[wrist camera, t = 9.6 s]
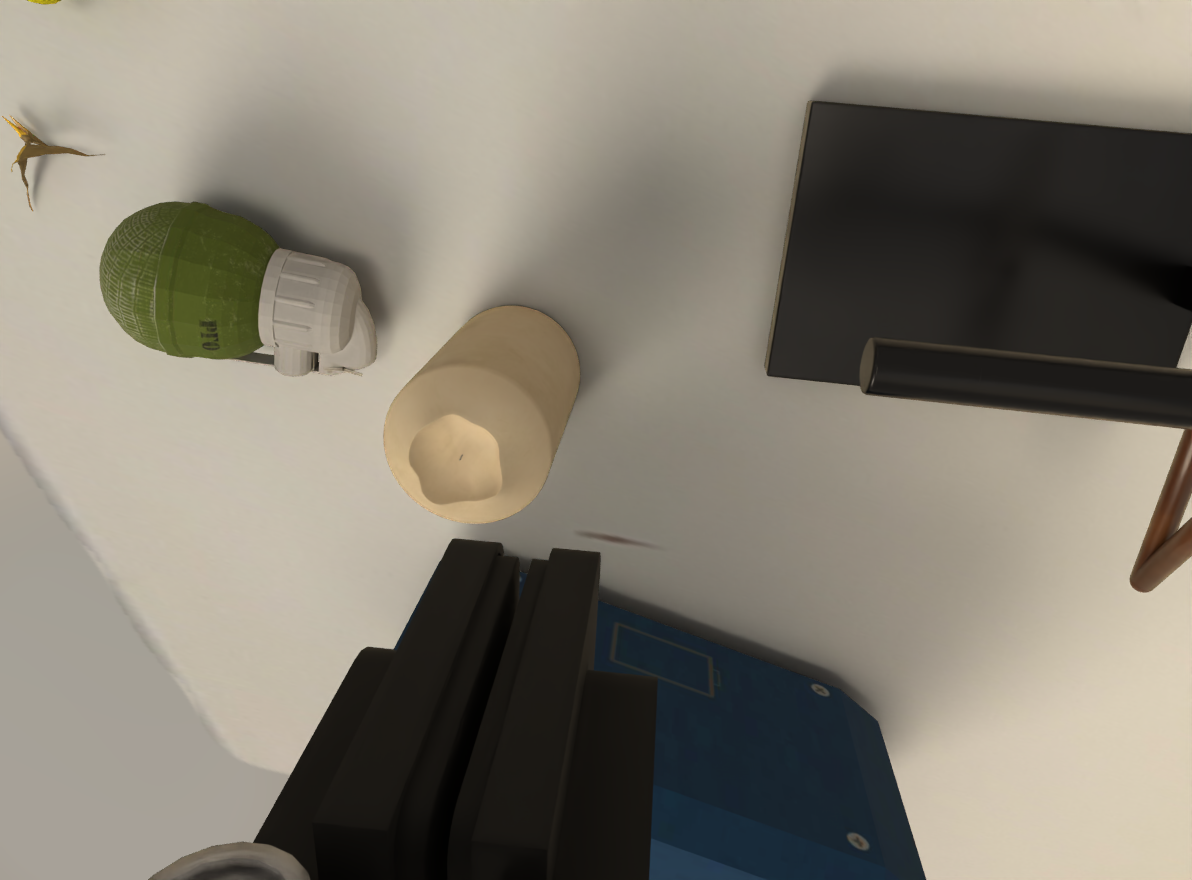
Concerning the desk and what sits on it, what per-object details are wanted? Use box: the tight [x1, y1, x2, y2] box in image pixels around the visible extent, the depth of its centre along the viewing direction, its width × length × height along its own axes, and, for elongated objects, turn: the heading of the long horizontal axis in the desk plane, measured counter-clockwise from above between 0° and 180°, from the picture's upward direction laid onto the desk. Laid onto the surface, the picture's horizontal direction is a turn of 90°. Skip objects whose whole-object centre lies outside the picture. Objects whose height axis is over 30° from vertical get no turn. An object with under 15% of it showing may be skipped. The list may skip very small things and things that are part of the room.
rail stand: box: [764, 101, 1192, 430], centre depth 24 cm, size 10×15×17 cm
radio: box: [394, 561, 926, 880], centre depth 31 cm, size 21×9×20 cm, turn 70°
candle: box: [384, 305, 580, 524], centre depth 31 cm, size 6×6×10 cm
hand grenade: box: [100, 202, 377, 377], centre depth 33 cm, size 6×6×10 cm
